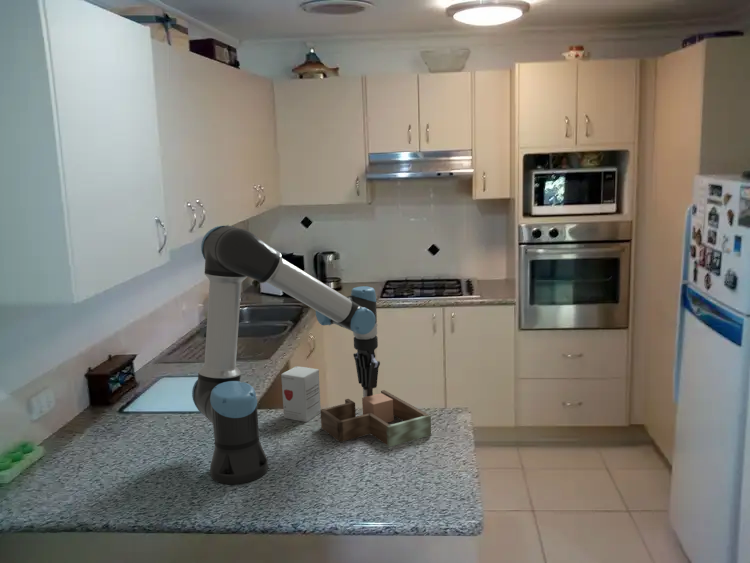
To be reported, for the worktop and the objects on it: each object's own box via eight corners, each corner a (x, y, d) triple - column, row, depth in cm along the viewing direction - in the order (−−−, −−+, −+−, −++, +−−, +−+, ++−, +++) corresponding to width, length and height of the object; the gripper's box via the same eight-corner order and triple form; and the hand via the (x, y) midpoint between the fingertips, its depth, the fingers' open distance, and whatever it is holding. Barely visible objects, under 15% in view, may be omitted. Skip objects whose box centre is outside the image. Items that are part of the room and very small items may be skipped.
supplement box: (282, 418, 217) (279, 373, 214) (298, 408, 225) (295, 365, 222) (306, 422, 213) (303, 377, 210) (321, 412, 220) (319, 368, 218)
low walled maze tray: (389, 447, 193) (388, 427, 192) (345, 417, 216) (345, 399, 215) (431, 435, 200) (430, 415, 199) (384, 407, 223) (384, 389, 222)
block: (374, 426, 208) (373, 404, 207) (363, 418, 214) (362, 397, 213) (393, 420, 212) (392, 399, 210) (382, 413, 218) (381, 393, 216)
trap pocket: (339, 442, 197) (338, 422, 196) (321, 428, 208) (320, 409, 207) (372, 433, 203) (371, 414, 202) (352, 420, 213) (351, 402, 212)
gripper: (386, 338, 209) (389, 410, 213) (365, 329, 220) (368, 398, 224) (365, 342, 205) (368, 416, 210) (345, 333, 216) (348, 403, 221)
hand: (368, 406), depth 217 cm, fingers closed
